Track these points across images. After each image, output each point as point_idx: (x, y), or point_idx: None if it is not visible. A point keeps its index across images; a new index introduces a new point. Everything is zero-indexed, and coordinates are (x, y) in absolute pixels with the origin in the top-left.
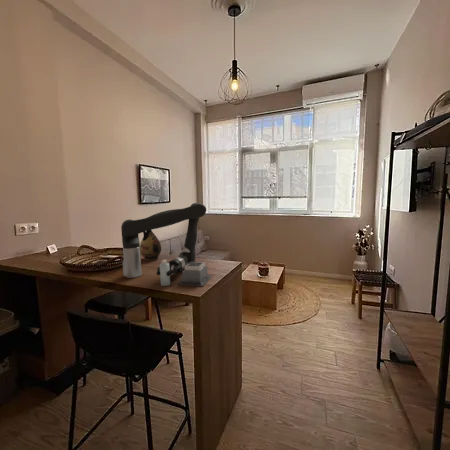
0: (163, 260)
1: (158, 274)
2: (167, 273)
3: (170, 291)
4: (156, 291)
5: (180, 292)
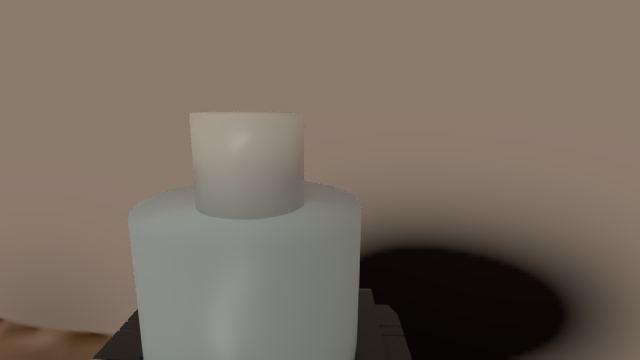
0: (263, 113)
1: None
2: None
3: None
4: None
5: (62, 349)
